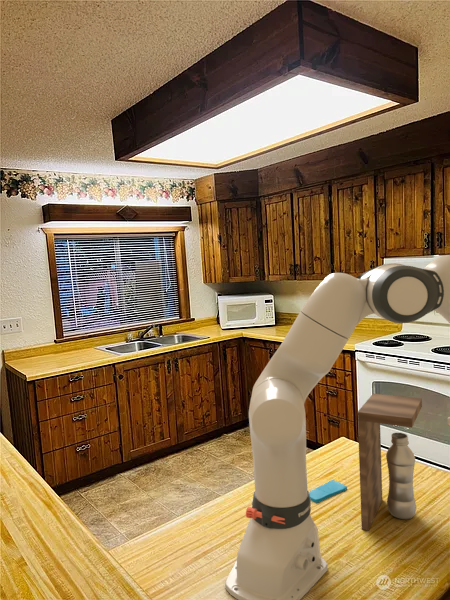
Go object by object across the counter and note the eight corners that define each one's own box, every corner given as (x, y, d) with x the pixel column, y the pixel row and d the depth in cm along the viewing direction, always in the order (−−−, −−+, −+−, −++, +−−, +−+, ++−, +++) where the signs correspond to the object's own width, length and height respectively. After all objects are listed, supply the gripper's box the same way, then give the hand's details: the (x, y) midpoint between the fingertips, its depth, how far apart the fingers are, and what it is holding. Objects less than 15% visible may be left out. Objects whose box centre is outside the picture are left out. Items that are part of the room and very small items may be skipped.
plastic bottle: (397, 504, 114) (395, 428, 112) (422, 516, 108) (420, 435, 106) (381, 514, 110) (379, 434, 108) (406, 526, 104) (404, 443, 103)
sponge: (300, 492, 121) (315, 498, 116) (332, 478, 128) (347, 484, 123) (300, 497, 121) (315, 504, 116) (333, 484, 128) (348, 490, 123)
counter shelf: (414, 542, 98) (411, 418, 96) (361, 529, 104) (357, 411, 102) (424, 508, 111) (421, 398, 109) (376, 498, 117) (373, 393, 115)
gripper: (521, 394, 102) (453, 388, 110) (526, 424, 85) (445, 413, 92) (520, 421, 103) (453, 413, 110) (526, 456, 86) (445, 443, 93)
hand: (449, 413), depth 101 cm, fingers open, 8 cm apart
